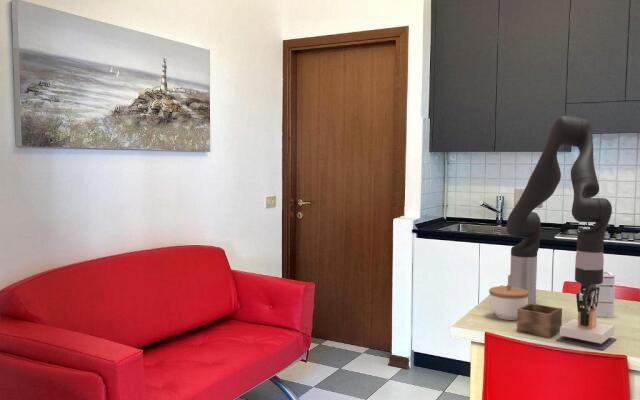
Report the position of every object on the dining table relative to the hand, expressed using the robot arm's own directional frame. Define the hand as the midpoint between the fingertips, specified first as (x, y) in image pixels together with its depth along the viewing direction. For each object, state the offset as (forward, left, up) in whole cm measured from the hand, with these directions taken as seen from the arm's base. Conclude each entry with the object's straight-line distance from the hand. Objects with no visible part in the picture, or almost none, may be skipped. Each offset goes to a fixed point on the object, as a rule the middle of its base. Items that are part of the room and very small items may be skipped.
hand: (586, 323), depth 178 cm
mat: (0, 0, -5) cm, 5 cm away
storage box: (-14, 0, -5) cm, 15 cm away
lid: (0, 0, -3) cm, 3 cm away
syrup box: (-5, +33, -5) cm, 34 cm away
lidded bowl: (-28, +9, -5) cm, 30 cm away
